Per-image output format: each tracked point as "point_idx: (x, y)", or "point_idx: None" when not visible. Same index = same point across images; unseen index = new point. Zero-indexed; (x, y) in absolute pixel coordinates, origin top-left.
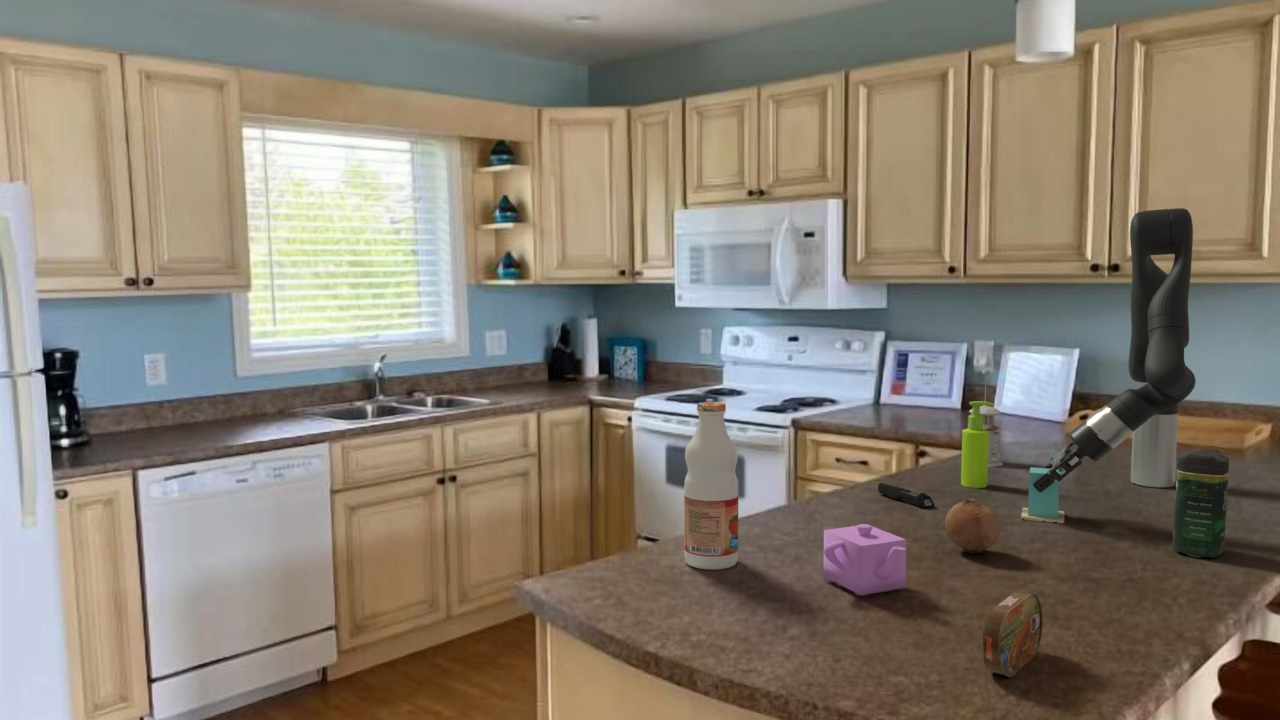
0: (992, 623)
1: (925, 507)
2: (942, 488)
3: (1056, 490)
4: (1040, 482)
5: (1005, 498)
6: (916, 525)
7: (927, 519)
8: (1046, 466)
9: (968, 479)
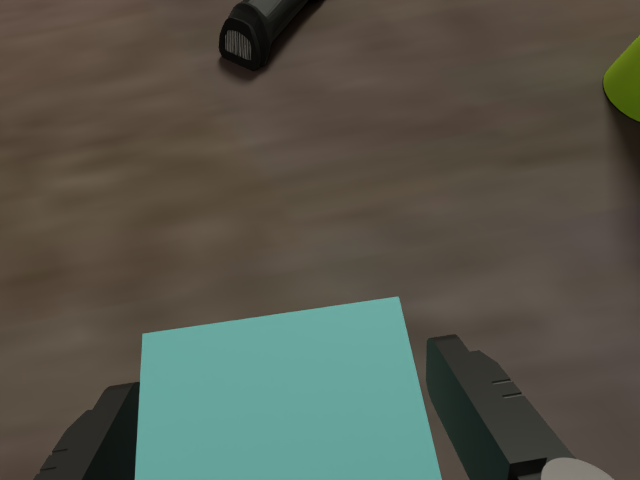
0: None
1: (225, 54)
2: (521, 36)
3: None
4: (51, 457)
5: (534, 216)
6: (17, 83)
7: (99, 88)
8: (499, 448)
9: (626, 61)
